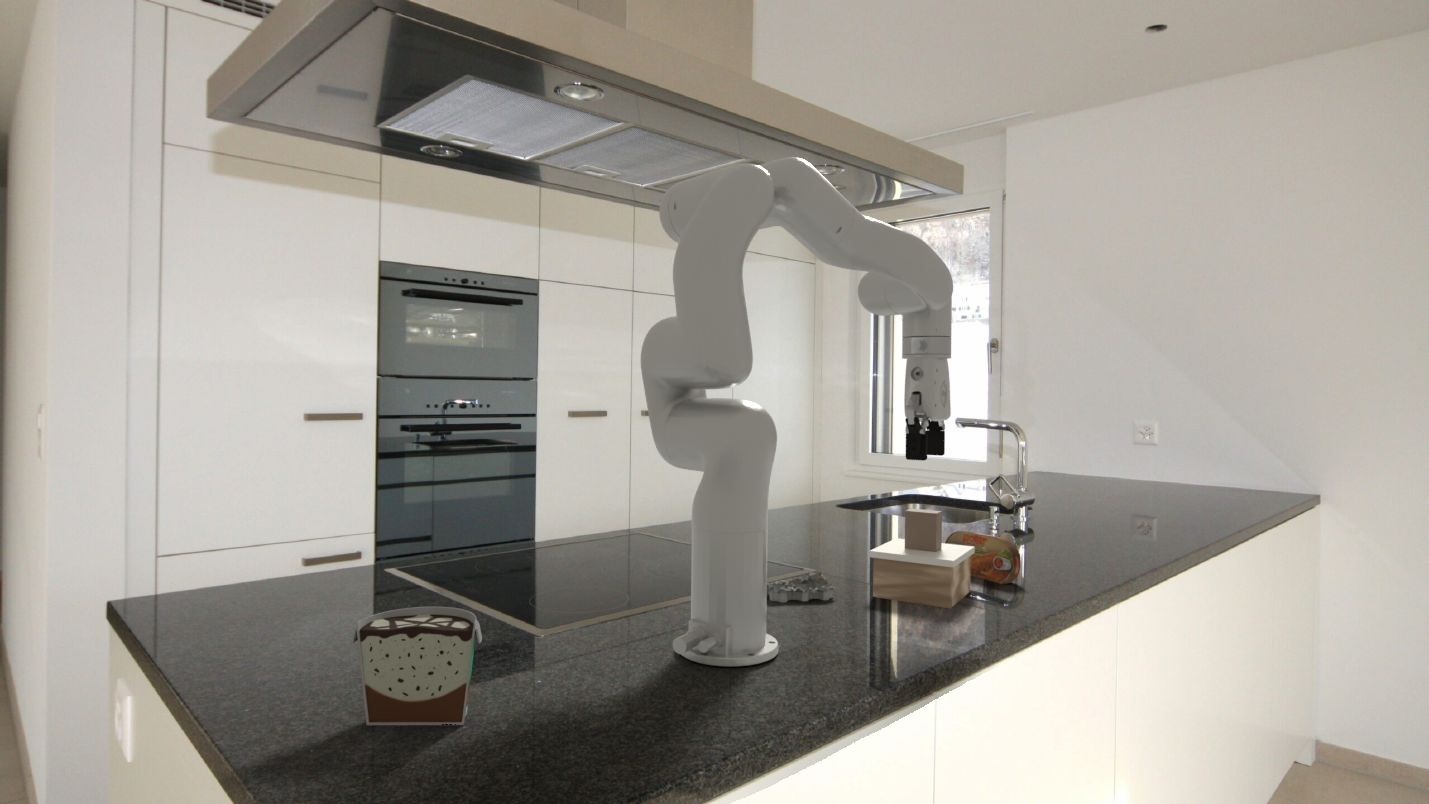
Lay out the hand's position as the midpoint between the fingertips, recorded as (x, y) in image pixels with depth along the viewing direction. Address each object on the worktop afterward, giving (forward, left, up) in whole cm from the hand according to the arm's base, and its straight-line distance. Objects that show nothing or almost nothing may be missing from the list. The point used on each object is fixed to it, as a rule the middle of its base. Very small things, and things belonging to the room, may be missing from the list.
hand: (925, 457), depth 127 cm
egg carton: (-12, +16, -23) cm, 31 cm away
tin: (+18, -5, -23) cm, 29 cm away
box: (0, 0, -23) cm, 23 cm away
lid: (0, 0, -16) cm, 16 cm away
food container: (-72, +29, -23) cm, 81 cm away
